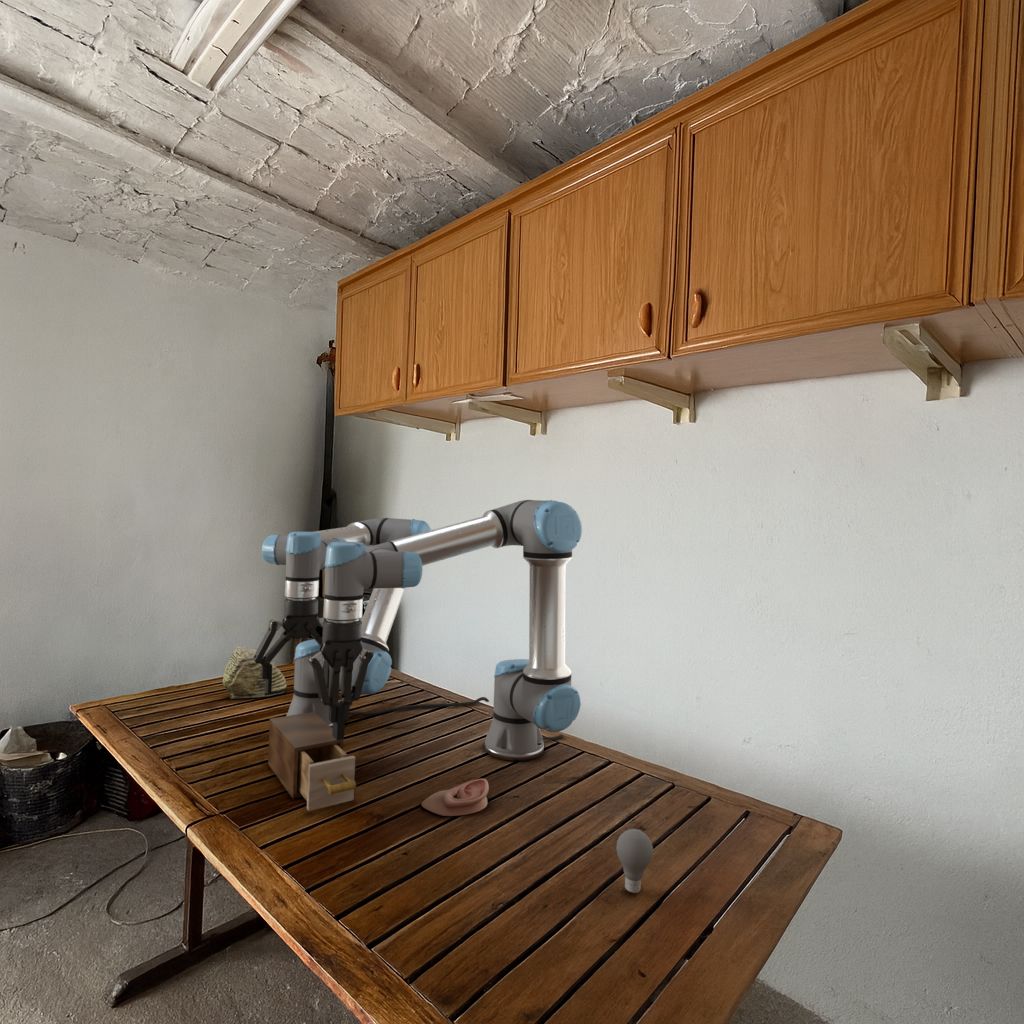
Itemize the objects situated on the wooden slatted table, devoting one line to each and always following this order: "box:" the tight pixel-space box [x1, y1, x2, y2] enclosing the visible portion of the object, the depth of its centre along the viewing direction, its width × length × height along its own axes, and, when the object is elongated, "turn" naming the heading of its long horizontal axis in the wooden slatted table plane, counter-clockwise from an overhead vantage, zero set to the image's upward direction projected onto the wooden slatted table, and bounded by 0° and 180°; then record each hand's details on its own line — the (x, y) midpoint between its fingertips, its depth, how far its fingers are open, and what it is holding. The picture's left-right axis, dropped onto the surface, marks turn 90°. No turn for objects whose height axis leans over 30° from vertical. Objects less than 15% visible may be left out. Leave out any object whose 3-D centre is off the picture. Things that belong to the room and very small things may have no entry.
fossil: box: [222, 646, 288, 699], centre depth 198 cm, size 9×18×15 cm, turn 132°
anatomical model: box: [421, 778, 490, 817], centre depth 133 cm, size 13×4×12 cm
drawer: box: [297, 744, 357, 812], centre depth 134 cm, size 25×9×9 cm, turn 35°
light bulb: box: [615, 828, 654, 894], centre depth 106 cm, size 6×6×10 cm
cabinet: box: [267, 712, 345, 799], centre depth 143 cm, size 20×10×11 cm, turn 35°
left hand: (298, 688), depth 148 cm, fingers open, 13 cm apart
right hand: (338, 737), depth 126 cm, fingers closed
